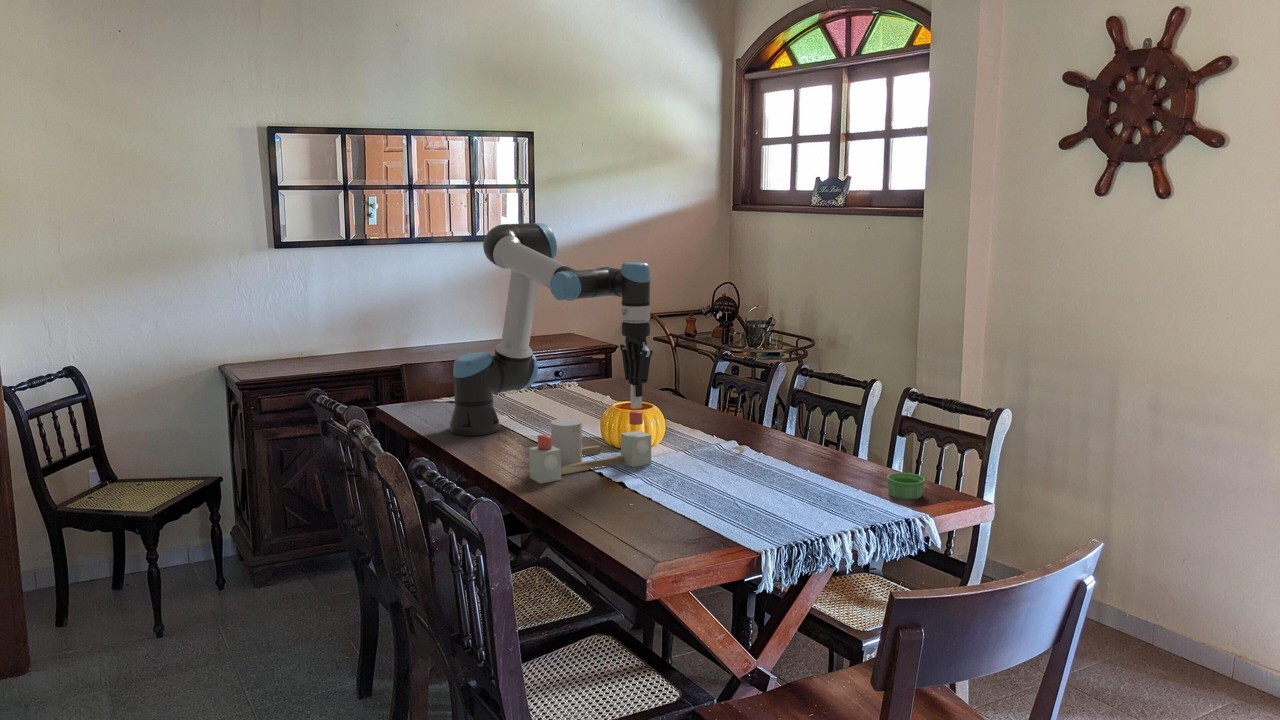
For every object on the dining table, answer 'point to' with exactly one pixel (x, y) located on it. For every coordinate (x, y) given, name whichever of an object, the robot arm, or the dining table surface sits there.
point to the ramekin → (905, 485)
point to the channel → (593, 463)
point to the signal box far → (636, 448)
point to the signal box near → (545, 464)
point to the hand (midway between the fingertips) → (636, 407)
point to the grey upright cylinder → (567, 439)
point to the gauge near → (544, 442)
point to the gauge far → (635, 417)
